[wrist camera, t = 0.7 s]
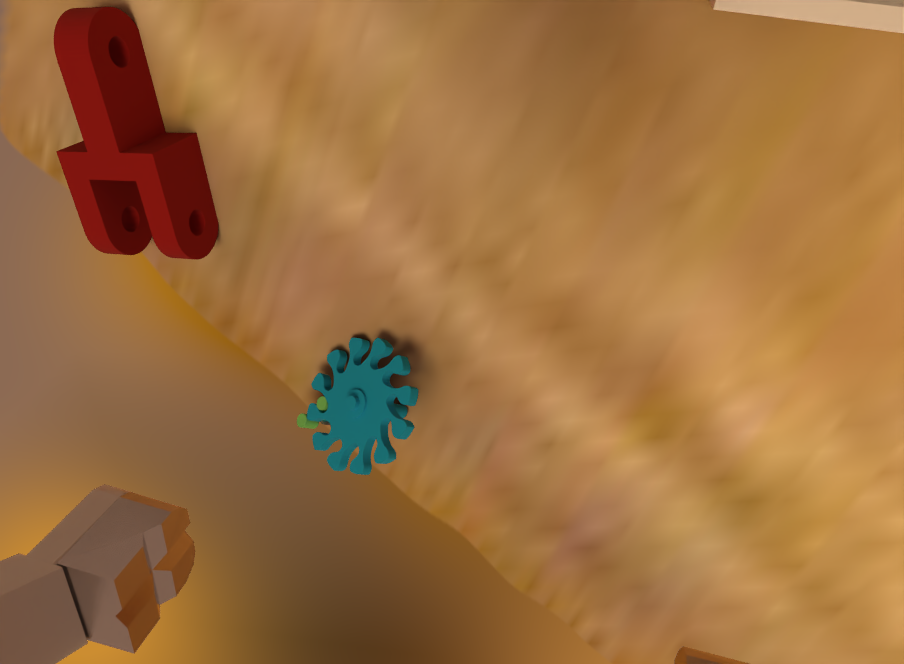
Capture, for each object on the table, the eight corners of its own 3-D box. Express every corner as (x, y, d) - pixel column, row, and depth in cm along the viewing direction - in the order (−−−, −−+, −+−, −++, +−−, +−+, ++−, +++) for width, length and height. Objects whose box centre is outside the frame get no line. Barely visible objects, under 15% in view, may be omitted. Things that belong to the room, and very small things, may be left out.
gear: (404, 321, 47) (407, 468, 45) (452, 338, 52) (458, 472, 49) (292, 349, 53) (289, 480, 51) (344, 362, 58) (344, 482, 55)
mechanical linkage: (224, 242, 50) (185, 271, 46) (141, 237, 52) (96, 265, 48) (166, 1, 42) (112, 10, 38) (70, 5, 44) (8, 14, 40)
